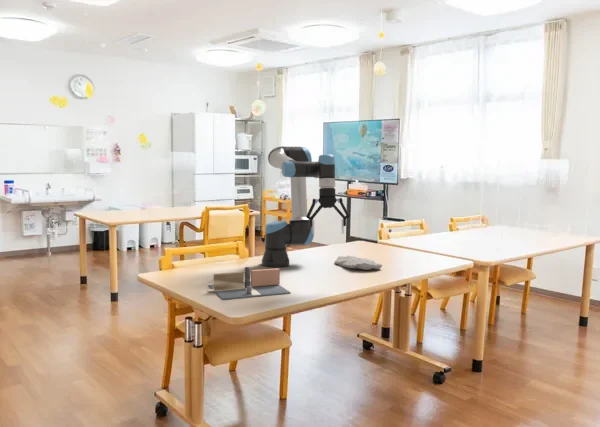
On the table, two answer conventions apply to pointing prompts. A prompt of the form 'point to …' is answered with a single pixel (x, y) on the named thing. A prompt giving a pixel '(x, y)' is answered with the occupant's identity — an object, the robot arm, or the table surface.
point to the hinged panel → (265, 277)
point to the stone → (357, 263)
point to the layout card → (258, 288)
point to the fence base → (232, 280)
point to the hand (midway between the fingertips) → (328, 233)
